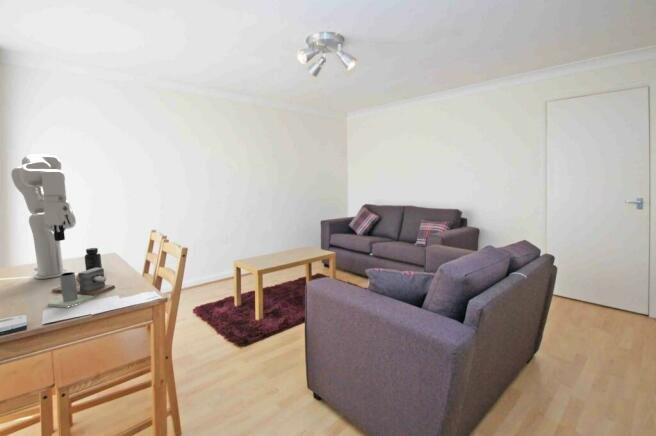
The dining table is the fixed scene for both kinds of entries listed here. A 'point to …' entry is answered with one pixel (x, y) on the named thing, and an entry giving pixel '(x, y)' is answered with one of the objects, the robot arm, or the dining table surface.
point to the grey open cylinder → (68, 286)
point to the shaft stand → (89, 283)
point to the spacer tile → (69, 303)
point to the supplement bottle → (92, 259)
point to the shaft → (95, 278)
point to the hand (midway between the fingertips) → (59, 240)
